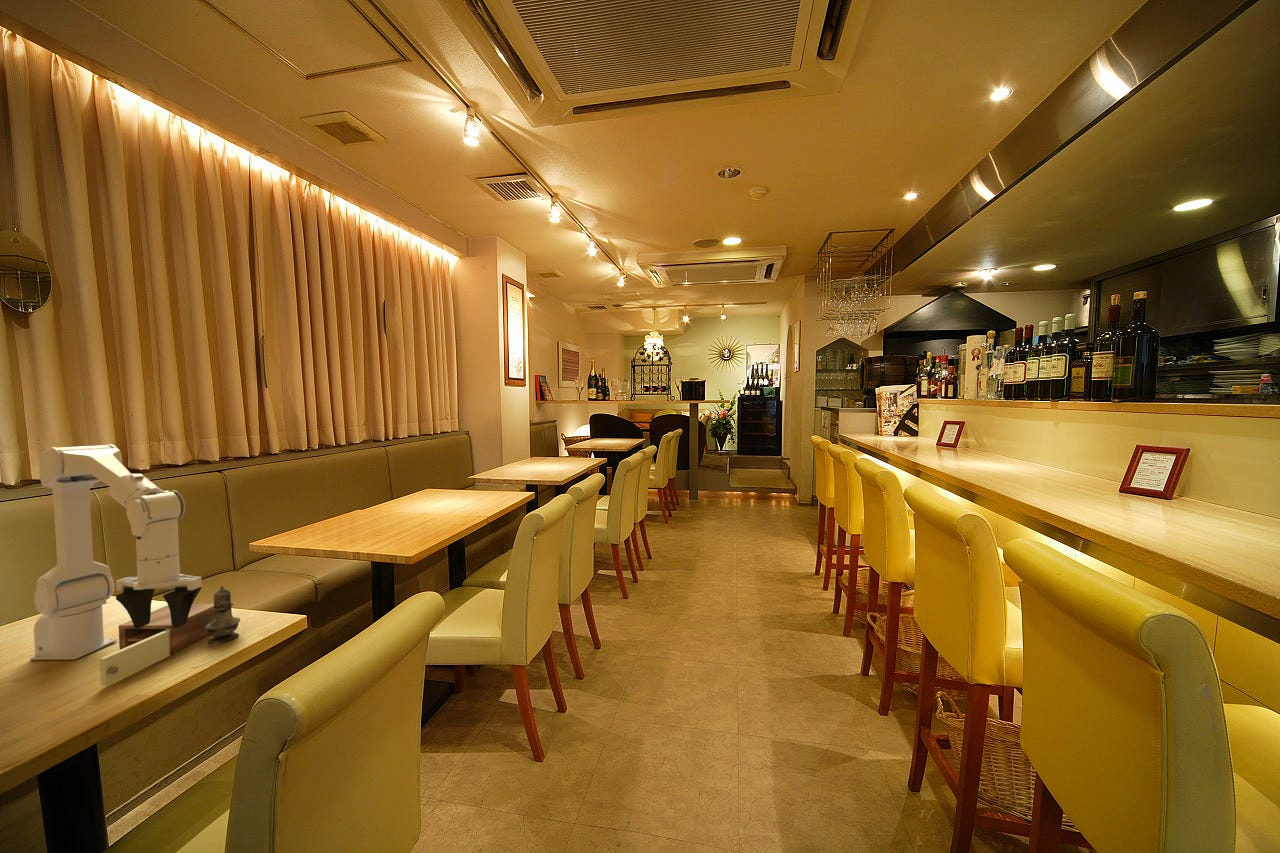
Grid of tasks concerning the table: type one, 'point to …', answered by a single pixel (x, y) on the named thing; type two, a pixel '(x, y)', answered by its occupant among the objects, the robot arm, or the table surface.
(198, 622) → the cabinet
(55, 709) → the table surface
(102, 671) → the door
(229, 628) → the dark tiered stone ornament
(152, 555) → the robot arm
